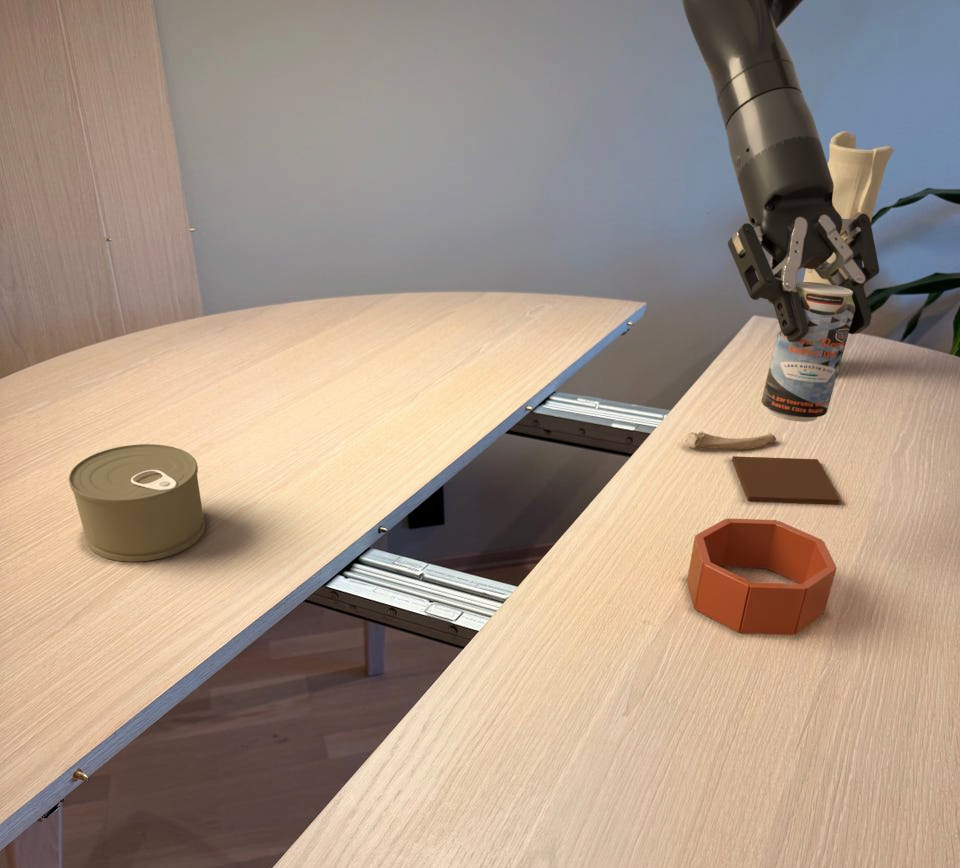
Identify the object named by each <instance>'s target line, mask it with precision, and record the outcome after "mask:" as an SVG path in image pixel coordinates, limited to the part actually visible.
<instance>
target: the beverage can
mask: <svg viewBox="0 0 960 868" xmlns="http://www.w3.org/2000/svg"><path fill="white" fill-rule="evenodd" d="M793 292H798V294H799V297H800V300H801V304H802V307H803V310H804V314H805V317H806V320H807V324H808V327H809V330H808V333H807V334H806V335H805V336H804V337H802V338H801V339H800V340H799V341H795V342H789V341H788V340H787V337H786V336H784V335H783V333H782V332H781V329H780V325H779V324H778V329H777V333H776V338H775V342H774V347H773V349H772V350H773V351H772V355H771V358H770V363H769V367H768V371H767V375H766V378H765V383H764V388H763V392H762V396H761V401H760V402H761V404H762V405H763V406H764V407H765V408H767V412H768V413H769V414H771V415H772V416H774V417H777V418H780V419H783V420H786V421H791V422H799V423H800V422H802V423H804V422H805V423H808V422H814V421H816V420H817V419H818V418H820V417H823V416H825V415H827V412H828V410H829V407H830V404H831V399H832V396H833V392H834V388H835V385H836V381H837V377H838V374H839V370H840V367H841V363H842V360H843V356H844V352H845V348H846V344H847V341H848V337H849V335H850V333H849V330H850V327H851V323H852V320H853V316H854V312H855V305H854V302H853V299H852V294H853V291H851V290H849V289H847V288H844V287H840V286H835V285H830V284H824V283H816V282H803V281H799V282H797V283H795V289H794V290H793Z"/></svg>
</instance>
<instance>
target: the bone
mask: <svg viewBox="0 0 960 868" xmlns="http://www.w3.org/2000/svg"><path fill="white" fill-rule="evenodd" d="M775 441H777V437H776V436H775V435H774V434H772V433H768V434H765V435H760V436H753V437H752V436H751V437H744V438H743V437H742V438H731V437H729V438H728V437H721V436H719V435H718V436H716V435H712V434H709V433H706V432H704V431H700V432H698V433H696V432H693V431H691V432H689V433H688V434H687V435H686V439H685V443H686V446H687V447H688V448H689V449H699V448H711V449H717V448H718V449H724V450H725V449H726V450H751V449H755V448H760V447H763V446H764V445H767V444H770V443H773V442H775Z"/></svg>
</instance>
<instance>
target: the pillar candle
mask: <svg viewBox="0 0 960 868" xmlns="http://www.w3.org/2000/svg"><path fill="white" fill-rule="evenodd" d="M828 148H829V157H828V158H829V159H828V161H827V164H828V167H829V171H830V174H831V177H832V180H833V184H834V189H833V197H832V203H833V206H834V208H835V209H836V211H837V212H838V213H839V214H840V216H841V218H842V219H856V218H857V217H858V216H859V215H860V214H866V215H867V216H868V217H869V218H870V222H871V223H872V220H873V216H874V211H875V207H876V204H877V200H878V196H879V192H880V189H881V185H882V183H883V178H884V174H885V171H886V167H887V164H888V162H889V160H890V158H891V156H892V155H893V153H894V148H893V147H892V146H889V145H885V146H881V147H874V148H873V149H858V148H857V136H856V135H855V134H852V133H850V132H849V131H846V130H843V131H839V132H838V133H835V135H833V136H832V137H831V139H830V142H829V147H828ZM835 260H836V255H835V253H833V254H832V256H831V257H830V258H829V259H828V260H826V261H827V262H828V263H833V262H834V261H835ZM862 266H864V264H863V261H862ZM839 271H840V273H841V274H842V275H843V277H844V278H845V279H847V278H848V277H847V275H846V274H845V273H844V271H843V270H842V269H841V268H839ZM802 282H816V283H824V284H830V285H831V283H830V282H829V281H828V280H827V279H822V278H821V277H820V276H819V275H818V274H817V272H816V271H815V270H814V269H807V268H805V272H804V277H803V281H802Z"/></svg>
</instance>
